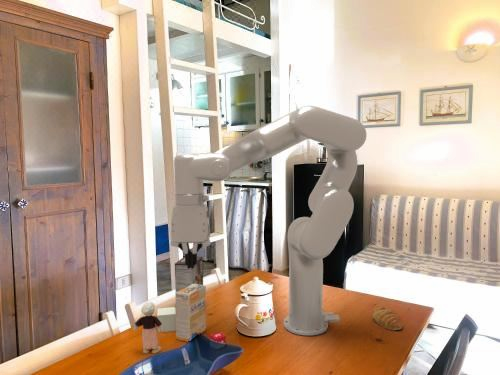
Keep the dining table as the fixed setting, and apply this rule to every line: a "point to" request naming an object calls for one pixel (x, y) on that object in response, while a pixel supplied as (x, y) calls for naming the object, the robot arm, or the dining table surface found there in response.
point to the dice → (218, 337)
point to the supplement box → (190, 311)
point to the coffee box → (188, 274)
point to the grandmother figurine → (149, 328)
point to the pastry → (387, 318)
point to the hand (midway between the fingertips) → (191, 266)
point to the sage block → (167, 318)
